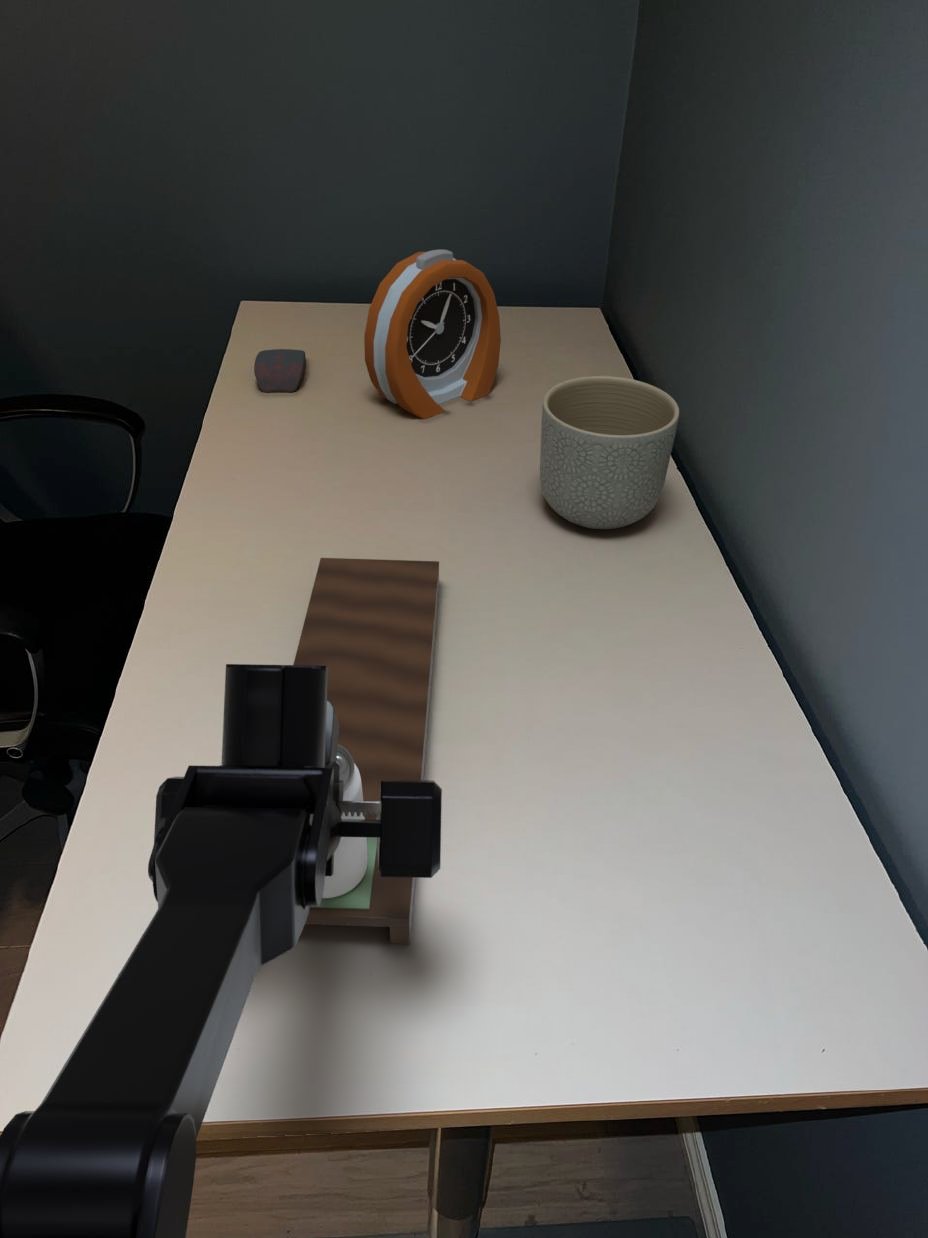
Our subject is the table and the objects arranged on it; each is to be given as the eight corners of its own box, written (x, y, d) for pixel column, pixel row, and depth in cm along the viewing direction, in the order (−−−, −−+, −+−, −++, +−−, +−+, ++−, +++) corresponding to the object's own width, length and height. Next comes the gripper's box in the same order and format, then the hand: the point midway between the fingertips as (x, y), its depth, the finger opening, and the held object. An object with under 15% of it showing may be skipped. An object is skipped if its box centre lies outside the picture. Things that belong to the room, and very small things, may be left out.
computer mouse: (253, 392, 150) (250, 369, 147) (263, 357, 160) (260, 335, 158) (303, 392, 150) (301, 369, 148) (310, 357, 161) (308, 335, 158)
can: (378, 887, 74) (371, 788, 66) (298, 912, 72) (281, 813, 64) (355, 826, 78) (346, 726, 71) (280, 848, 76) (262, 748, 69)
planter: (591, 464, 134) (604, 364, 124) (686, 512, 124) (707, 407, 115) (508, 505, 125) (514, 400, 115) (603, 560, 115) (618, 451, 106)
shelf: (410, 944, 74) (409, 918, 71) (235, 938, 74) (229, 911, 72) (439, 584, 111) (439, 559, 108) (322, 581, 111) (320, 556, 109)
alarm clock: (404, 427, 142) (400, 278, 127) (365, 404, 147) (357, 259, 133) (508, 386, 153) (515, 246, 139) (468, 367, 159) (471, 230, 145)
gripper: (441, 705, 55) (444, 708, 71) (128, 700, 55) (200, 704, 70) (438, 897, 54) (441, 856, 69) (118, 892, 54) (193, 853, 69)
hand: (319, 813), depth 70 cm, fingers open, 9 cm apart
